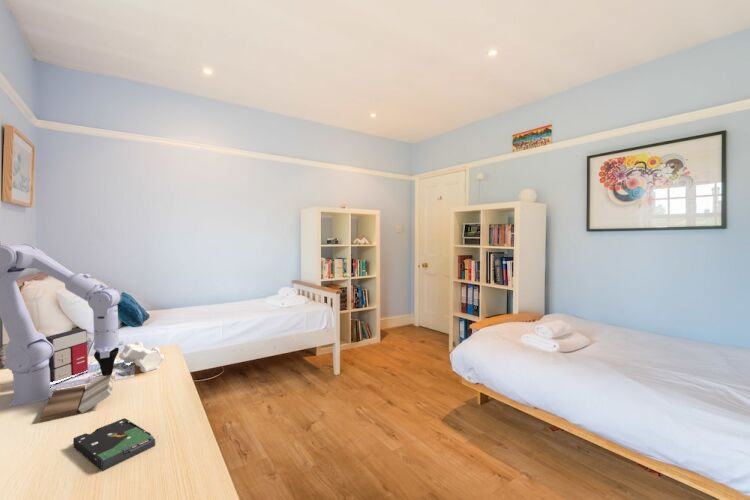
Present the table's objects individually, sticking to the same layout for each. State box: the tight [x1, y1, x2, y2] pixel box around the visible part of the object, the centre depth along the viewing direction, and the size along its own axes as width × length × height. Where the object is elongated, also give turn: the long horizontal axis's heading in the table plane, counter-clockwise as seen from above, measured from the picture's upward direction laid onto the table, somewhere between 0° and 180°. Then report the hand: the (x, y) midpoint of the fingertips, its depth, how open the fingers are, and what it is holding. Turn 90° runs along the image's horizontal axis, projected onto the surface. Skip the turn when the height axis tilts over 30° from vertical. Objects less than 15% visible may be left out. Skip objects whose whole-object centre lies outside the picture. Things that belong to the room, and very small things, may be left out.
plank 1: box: [83, 370, 116, 397], centre depth 102 cm, size 8×7×2 cm
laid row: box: [39, 385, 86, 424], centre depth 95 cm, size 17×7×2 cm, turn 34°
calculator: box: [45, 328, 89, 382], centre depth 112 cm, size 11×4×15 cm, turn 168°
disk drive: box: [72, 417, 156, 472], centre depth 78 cm, size 10×3×15 cm
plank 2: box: [78, 380, 114, 414], centre depth 95 cm, size 8×7×2 cm
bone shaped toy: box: [118, 341, 165, 373], centre depth 123 cm, size 15×9×8 cm, turn 59°
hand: (107, 374), depth 103 cm, fingers closed
